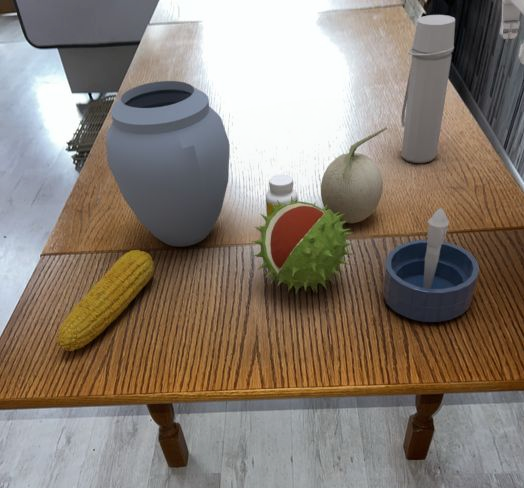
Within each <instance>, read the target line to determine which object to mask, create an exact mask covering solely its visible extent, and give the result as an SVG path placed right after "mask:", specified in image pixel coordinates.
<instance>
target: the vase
mask: <svg viewBox="0 0 524 488" xmlns="http://www.w3.org/2000/svg"><path fill="white" fill-rule="evenodd" d="M109 113H110V116H111V119H112V122H111V123H110V126H109V127H108V128H107V131H106V134H105V144H106V161H107V164H108V167H109V169H110V171H111V174H112V176H113V178H114V180H115V183H116V185H117V187H118V189H119V191H120V193H121V195H122V198H123V200H124V201H125V203H126V204H127V205H128V207H129V208H130V210H131V211H132V212H133V214H134V215H135V217H136V218H137V219H138V221H139V222H140V224H141V225H142V226H143V227H144V228H145V229H146V230H147V231H148V232H149V233H151V234H152V235H153V236H154V237H155V238H157V239H158V240H159V241H161V242H163V243H164V244H166V245H167V246H171V247H177V248H178V247H179V248H180V247H182V248H183V247H189V246H193V245H196V244H199V243H200V242H202V241H203V240H205V239H206V238H207V237H208V236H209V234H210V233H211V232H212V230H213V229H214V227H215V225H216V224H217V221H218V220H219V217H220V215H221V213H222V210H223V206H224V200H225V197H226V192H227V189H228V184H229V176H230V175H229V174H230V173H229V172H230V148H231V147H230V146H231V145H230V140H229V137H228V134H227V131H226V129H225V124H224V122H223V119H222V117H221V116H220V115H219V114H218V112H216V111H215V110H214V109H213V108H212V107H211V106H210V100H209V96H208V95H207V94H206V93H205V92H204V91H202V90H200V89H198V88H196V87H195V86H193V85H191V84H190V83H187V82H184V81H177V80H162V81H154V82H147V83H144V84H141V85H138V86H135V87H131V88H130V89H128V90H127V91H125V92H124V93H122V94H121V96H120V98H118V100H116V102H115V103H114V104H113V105H112V107H111V108H110V111H109Z"/></svg>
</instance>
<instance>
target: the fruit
mask: <svg viewBox="0 0 524 488" xmlns="http://www.w3.org/2000/svg"><path fill="white" fill-rule="evenodd" d="M386 130H388V127H387V126H386V127H384V128H382V129H380V130H378V131H376V132H374V133H372V134H370V135H368V136H366V137H365V138H363V139H361V140H358V141H357V142H355V143H353V144H352V145H351V146H350V147H349V149H348V151H349V152H348V153H342V154H340V155H339V156H337V157H336V158H335V159H334V160H332V161H331V162H330V164H329V165H327V167H326V168H325V171H324V173H323V175H322V178H321V183H320V197H321V198H320V199H321V202H322V205H323V208H324V207H325V206H326V205H327V208H326V211H327V210H328V209H330V210H331V211H332V212H333V213H334V214H336V213H338V212H339V213H338V214H337V216H339V215H341V214H344V213H345V214H344V215H343V216H342V217H341V218H340V222H343V221H346V220H348V221H347V222H345V223H344V224H357V223H359V222H362V221H364V220H366V219H368V217H371V215H372V214H373V213H374V211H376V210H377V208H378V205H379V203H380V201H381V199H382V195H383V189H384V181H383V180H384V179H383V175H382V171H381V169H380V167H379V165H378V164H377V163H376V161H374V159H372V158H371V157H369V156H368V155H366V154H363V153H358V152H356V151H357V149H358V147H361V145H363V144H364V143H366V142H368V141H370V140H371V139H373V138H376V136H379V135H380V134H381V133H383V132H384V131H386Z"/></svg>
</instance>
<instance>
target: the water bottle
mask: <svg viewBox="0 0 524 488" xmlns="http://www.w3.org/2000/svg"><path fill="white" fill-rule="evenodd" d="M455 29H456V18H455V17H453V16H451V15H445V14H429V15H425V16H424V15H423V16H421V17H419V18H417V21H416V26H415V30H414V36H413V42H412V46H411V48H409V49H408V50H407V54H408V55H410V56H411V60H410V67H409V73H408V77H407V84H406V88H405V93H404V94H405V95H404V99H403V104H402V109H401V117H400V122H401V127H402V128H403V135H402V145H401V157H402V158H403V159H404V160H405V161H406V162H408V163H412V164H425V163H429V162H431V161H433V160H434V159H435V158H436V157H437V155H438V148H439V142H440V135H441V129H442V121H443V115H444V109H445V104H446V103H445V102H446V96H447V90H448V89H447V88H448V83H449V76H450V71H451V62H452V56H453V55H452V52H453V51H454V49H455V46H454V45H455V44H454V43H455Z"/></svg>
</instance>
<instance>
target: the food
mask: <svg viewBox="0 0 524 488" xmlns="http://www.w3.org/2000/svg"><path fill="white" fill-rule="evenodd" d="M154 265H155V264H154V260H153V258H152V256H151V255H150V253H148V252H146V251H144V250H142V251H141V250H140V249H133V250H130V251H127V252H126V253H124V254H123V255H122V256H120V257H119V259H117V260H116V262H115V263H113V265H112V266H111V267H110V269H109V270H107V271H106V272H105V274H104V275H103V276H102V277H101V278H100V279H99V281H97V282H96V283H94V285H93V287H90V290H89V291H88V292H87V293H86V294H85V296H84V297H83V298H82V299H80V301H79V302H78V303H77V304H75V306H74V307H73V308H72V310H71V311H70V312H69V314H68V315H67V316H66V317H65V318H64V320H63V322H62V323H61V325H60V327H59V328H58V330H59V331H58V332H57V335H56V343H57V346H59V348H60V349H63V350H64V351H65V352H74V351H75V350H78V349H81V348H84V347H86V345H88V344H90V343H91V342H92V341H94V339H96V338H97V337H98V336H100V334H102V333H103V332H104V331H105V330H106V329H107V328H108V327H109V325H111V323H113V322H114V321H116V319H117V318H118V317H119V316H120V315H121V314H122V312H124V310H125V309H127V308H128V306H129V305H130V303H131V302H133V300H134V299H135V298H136V297H137V296H138V294H139V293H140V292H141V291H142V290H143V288H144V287H145V286H147V285H148V283H149V281H150V280H151V278H152V277H153V275H154Z"/></svg>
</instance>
